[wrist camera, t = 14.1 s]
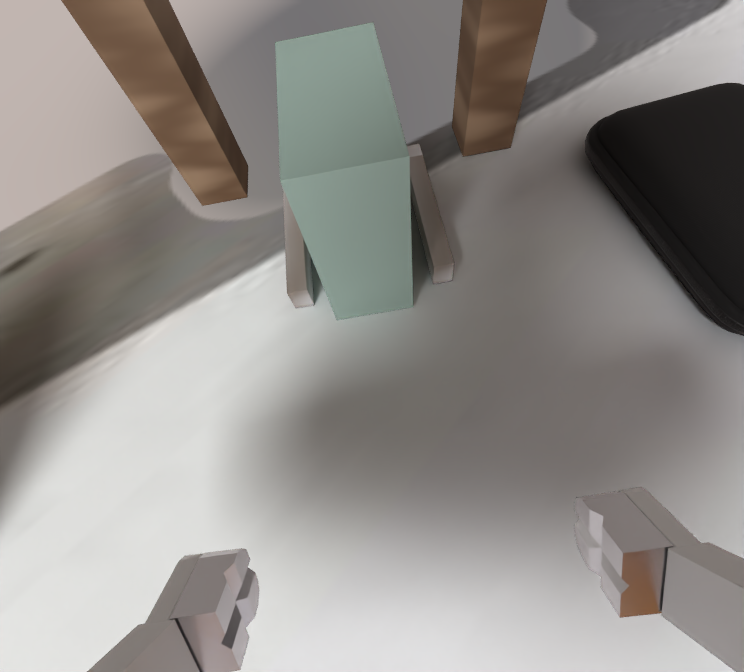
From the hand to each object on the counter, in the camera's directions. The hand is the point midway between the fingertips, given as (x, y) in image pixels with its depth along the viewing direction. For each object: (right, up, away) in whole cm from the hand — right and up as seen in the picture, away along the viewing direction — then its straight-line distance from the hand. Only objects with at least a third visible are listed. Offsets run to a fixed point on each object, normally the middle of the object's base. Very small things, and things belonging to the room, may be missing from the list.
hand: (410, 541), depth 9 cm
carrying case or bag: (+18, +12, +11) cm, 24 cm away
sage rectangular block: (-1, +10, +12) cm, 15 cm away
